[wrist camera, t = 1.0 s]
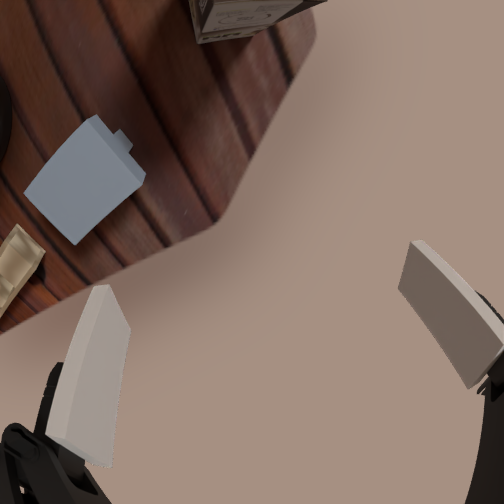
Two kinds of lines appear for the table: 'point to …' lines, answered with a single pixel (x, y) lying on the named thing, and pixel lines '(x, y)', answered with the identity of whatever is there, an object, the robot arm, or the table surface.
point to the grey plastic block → (85, 179)
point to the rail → (17, 264)
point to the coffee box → (240, 16)
